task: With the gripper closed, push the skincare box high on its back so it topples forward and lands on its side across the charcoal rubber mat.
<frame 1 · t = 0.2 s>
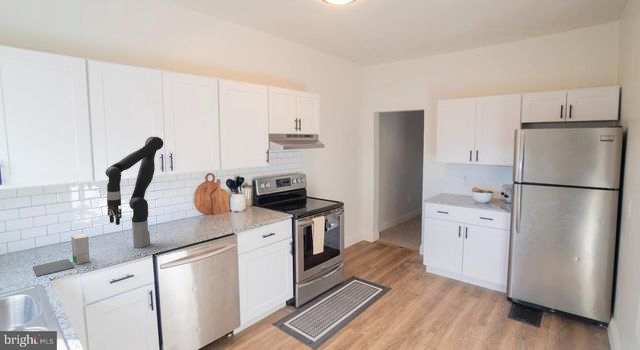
hand: (114, 223, 206), 18 cm above the countertop, tool pointing down, fingers open, 8 cm apart
skincare box: (81, 261, 192), on the countertop
mat: (53, 267, 183), on the countertop
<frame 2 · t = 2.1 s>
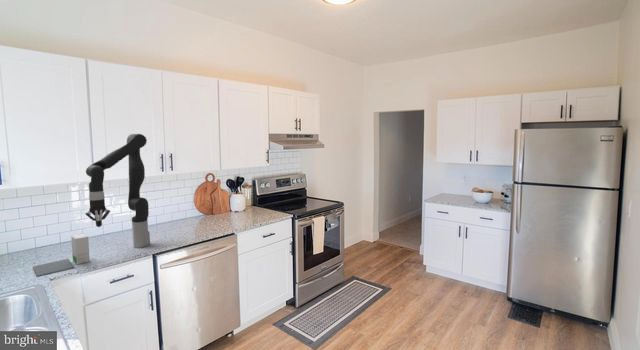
hand: (99, 226, 197), 19 cm above the countertop, tool pointing down, fingers closed
nothing on the countertop moved.
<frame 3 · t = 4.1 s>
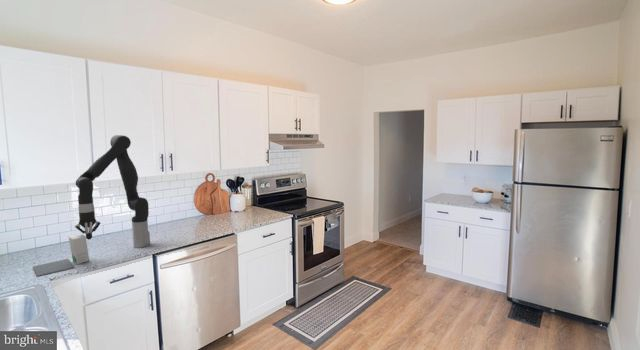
hand: (89, 239, 194), 13 cm above the countertop, tool pointing down, fingers closed
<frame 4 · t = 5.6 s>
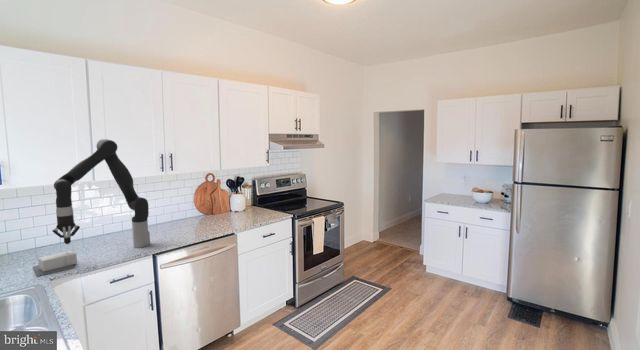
hand: (67, 243, 187), 12 cm above the countertop, tool pointing down, fingers closed
skincare box: (75, 256, 189), point 4 cm above the countertop, touching mat
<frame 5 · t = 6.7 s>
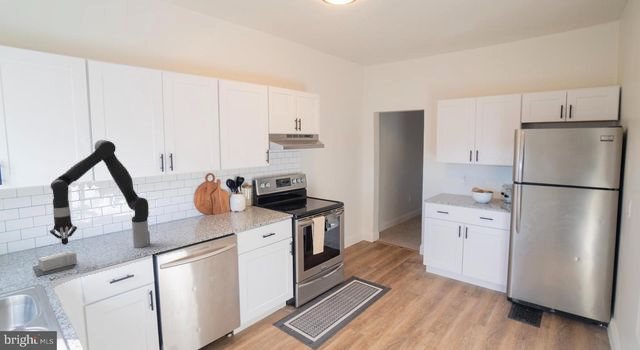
hand: (65, 244, 186), 12 cm above the countertop, tool pointing down, fingers closed
nothing on the countertop moved.
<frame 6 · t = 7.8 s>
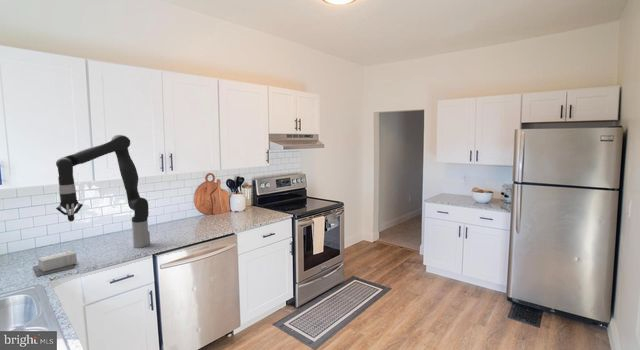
hand: (71, 221, 191), 24 cm above the countertop, tool pointing down, fingers closed
nothing on the countertop moved.
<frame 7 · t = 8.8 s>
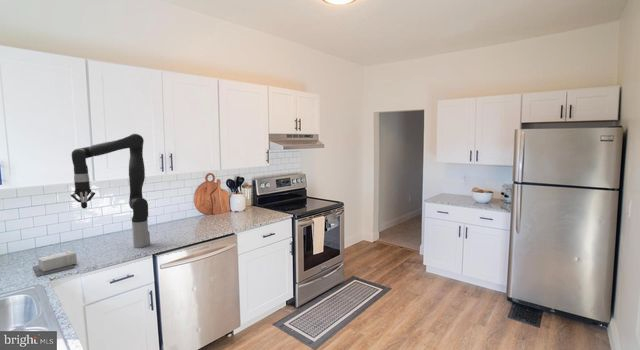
hand: (84, 208, 203), 29 cm above the countertop, tool pointing down, fingers closed
nothing on the countertop moved.
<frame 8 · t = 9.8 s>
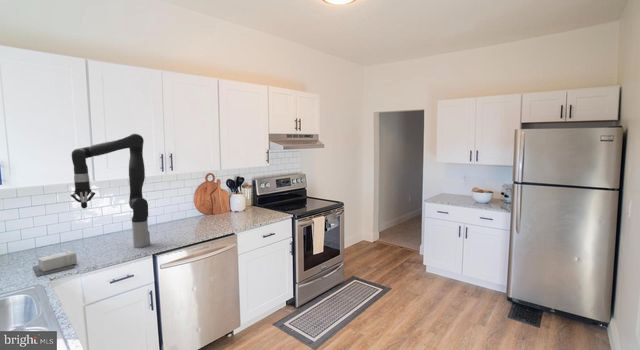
hand: (84, 208, 203), 29 cm above the countertop, tool pointing down, fingers closed
nothing on the countertop moved.
at the end: skincare box tilted 91°; skincare box touching mat; skincare box inside the target area (3.5 cm from its centre), point 4.0 cm above the countertop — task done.
